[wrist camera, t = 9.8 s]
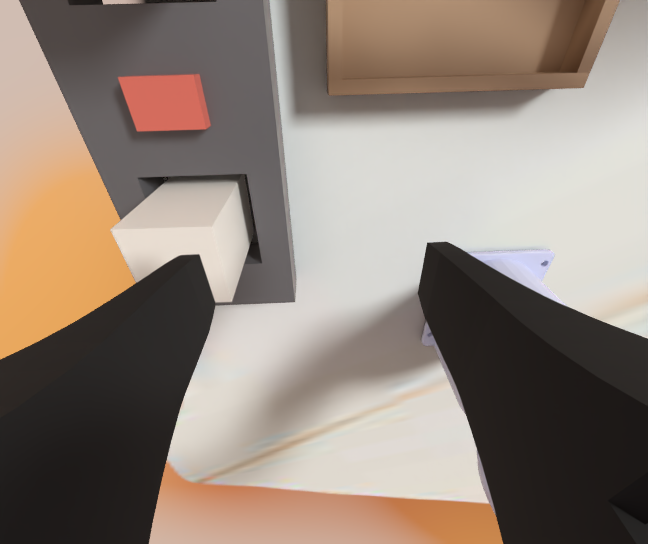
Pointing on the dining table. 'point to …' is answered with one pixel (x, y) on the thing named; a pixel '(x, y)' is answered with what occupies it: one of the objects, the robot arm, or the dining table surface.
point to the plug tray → (462, 44)
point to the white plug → (191, 229)
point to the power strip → (179, 108)
